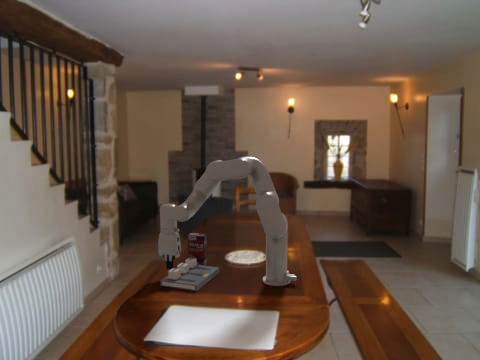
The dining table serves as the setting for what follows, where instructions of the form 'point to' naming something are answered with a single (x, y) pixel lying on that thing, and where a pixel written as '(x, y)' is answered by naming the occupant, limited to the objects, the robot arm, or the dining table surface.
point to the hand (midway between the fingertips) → (169, 268)
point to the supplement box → (197, 248)
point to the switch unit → (192, 278)
